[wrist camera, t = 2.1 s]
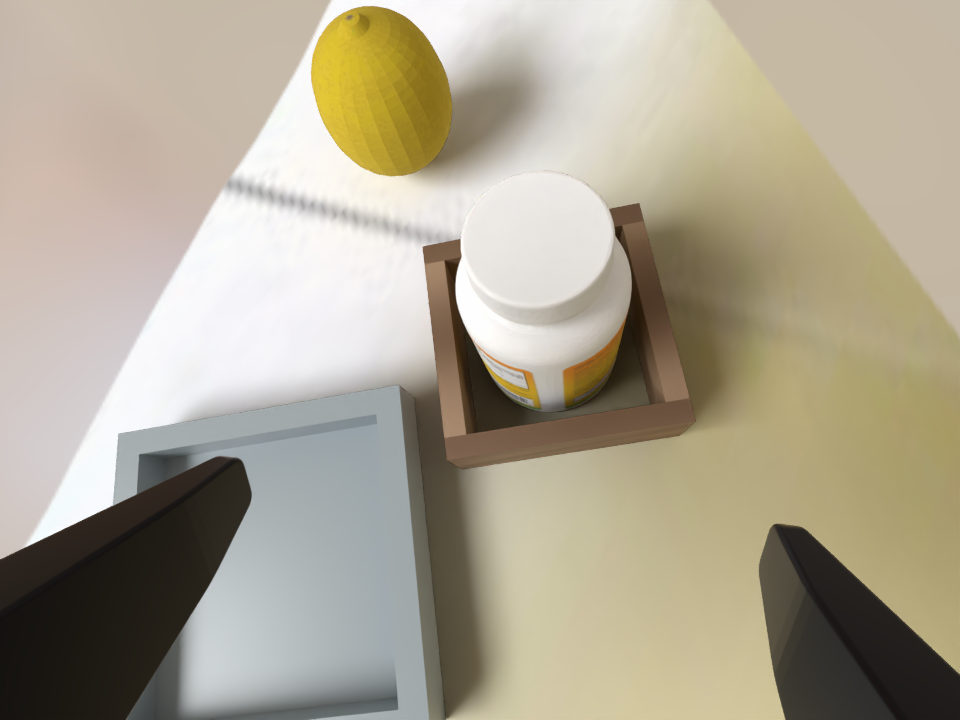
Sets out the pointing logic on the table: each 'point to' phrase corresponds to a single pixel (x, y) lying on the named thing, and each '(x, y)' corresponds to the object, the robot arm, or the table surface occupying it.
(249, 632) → the parts tray
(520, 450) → the brown wooden open box
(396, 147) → the lemon
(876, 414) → the table surface
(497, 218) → the supplement bottle
